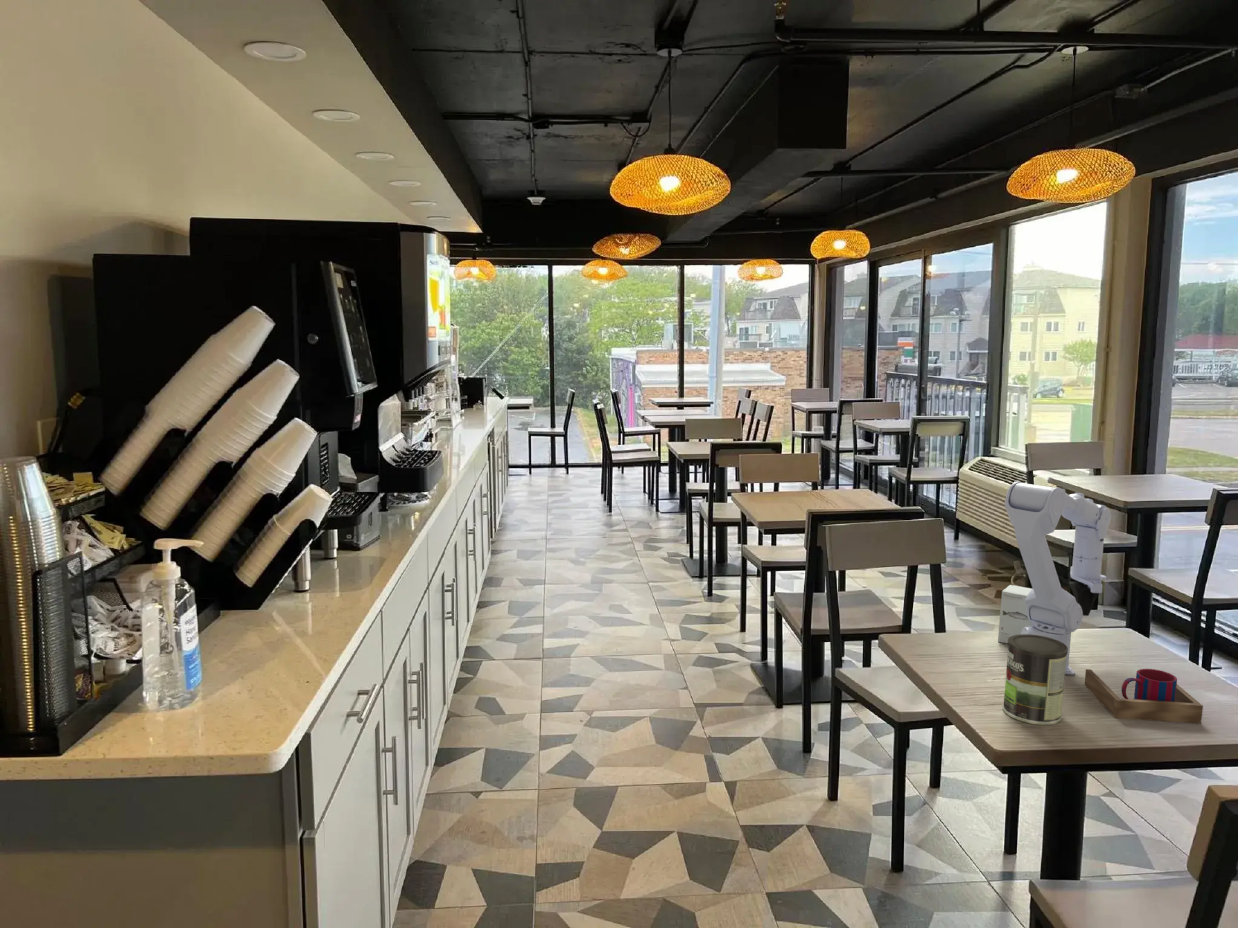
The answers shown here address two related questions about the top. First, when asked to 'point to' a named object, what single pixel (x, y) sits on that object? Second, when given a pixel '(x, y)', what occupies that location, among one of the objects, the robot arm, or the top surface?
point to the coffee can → (1035, 679)
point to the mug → (1152, 685)
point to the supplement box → (1013, 612)
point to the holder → (1145, 704)
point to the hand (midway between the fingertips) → (1082, 614)
